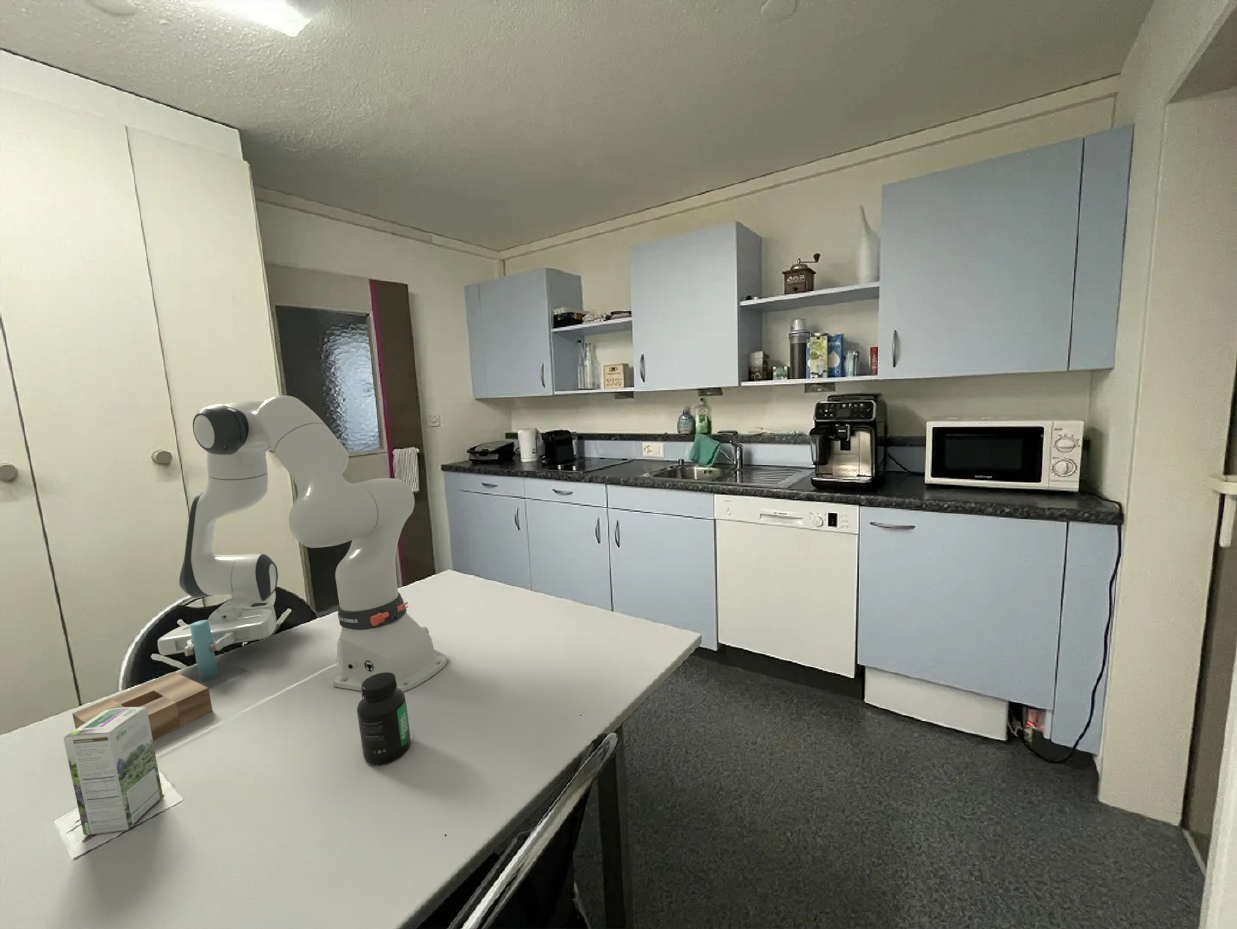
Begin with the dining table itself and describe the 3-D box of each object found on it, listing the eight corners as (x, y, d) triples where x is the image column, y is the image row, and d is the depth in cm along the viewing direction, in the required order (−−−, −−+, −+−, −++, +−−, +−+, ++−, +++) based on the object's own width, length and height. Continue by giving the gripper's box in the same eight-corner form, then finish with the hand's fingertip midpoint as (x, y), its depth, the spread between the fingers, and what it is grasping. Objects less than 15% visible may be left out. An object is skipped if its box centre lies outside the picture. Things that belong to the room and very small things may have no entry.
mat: (248, 672, 105) (248, 670, 105) (191, 698, 96) (191, 696, 96) (225, 662, 110) (225, 661, 110) (168, 687, 101) (168, 685, 101)
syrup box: (122, 802, 71) (101, 708, 69) (166, 797, 71) (147, 704, 69) (83, 837, 65) (59, 736, 63) (130, 831, 66) (108, 731, 64)
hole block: (213, 713, 91) (208, 687, 90) (109, 764, 79) (102, 735, 78) (178, 695, 98) (174, 671, 97) (78, 739, 86) (72, 713, 85)
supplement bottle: (419, 747, 78) (410, 677, 77) (375, 773, 73) (365, 699, 72) (398, 730, 83) (390, 663, 81) (356, 754, 78) (346, 683, 76)
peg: (221, 675, 104) (211, 621, 102) (204, 683, 101) (193, 627, 99) (214, 672, 105) (204, 619, 103) (197, 679, 102) (187, 625, 101)
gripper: (176, 617, 111) (136, 645, 98) (280, 601, 117) (255, 626, 104) (181, 643, 112) (142, 675, 99) (284, 626, 118) (260, 654, 104)
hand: (201, 650), depth 101 cm, fingers closed on peg, 3 cm apart
